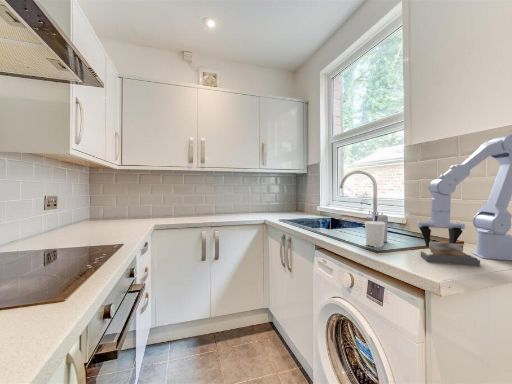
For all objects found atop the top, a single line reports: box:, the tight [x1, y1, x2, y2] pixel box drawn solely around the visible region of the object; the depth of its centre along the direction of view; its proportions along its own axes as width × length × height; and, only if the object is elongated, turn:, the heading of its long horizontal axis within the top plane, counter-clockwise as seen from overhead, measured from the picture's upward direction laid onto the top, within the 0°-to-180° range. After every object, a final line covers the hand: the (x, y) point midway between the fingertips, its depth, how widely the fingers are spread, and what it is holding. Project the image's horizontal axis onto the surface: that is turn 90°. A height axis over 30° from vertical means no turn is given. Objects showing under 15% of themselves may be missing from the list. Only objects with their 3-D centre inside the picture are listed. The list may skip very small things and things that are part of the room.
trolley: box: [428, 241, 469, 257], centre depth 85 cm, size 10×5×4 cm, turn 73°
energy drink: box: [374, 214, 389, 243], centre depth 113 cm, size 5×5×12 cm
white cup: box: [364, 220, 386, 248], centre depth 105 cm, size 8×8×10 cm
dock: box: [418, 250, 481, 267], centre depth 87 cm, size 15×11×3 cm
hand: (439, 247), depth 92 cm, fingers open, 7 cm apart
